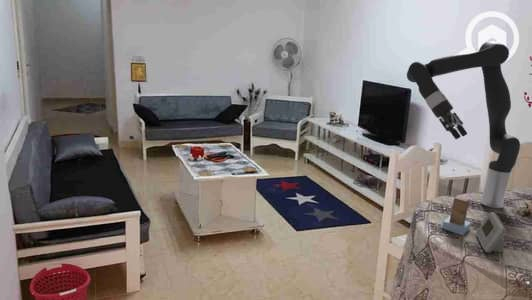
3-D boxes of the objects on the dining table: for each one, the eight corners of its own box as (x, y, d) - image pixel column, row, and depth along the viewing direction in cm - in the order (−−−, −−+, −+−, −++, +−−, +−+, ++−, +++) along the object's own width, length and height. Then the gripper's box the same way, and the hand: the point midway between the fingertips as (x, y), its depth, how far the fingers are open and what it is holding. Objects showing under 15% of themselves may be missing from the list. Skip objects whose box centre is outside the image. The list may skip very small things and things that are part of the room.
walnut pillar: (453, 218, 174) (458, 195, 171) (464, 222, 171) (469, 198, 168) (449, 221, 170) (454, 198, 168) (461, 225, 168) (466, 201, 165)
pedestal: (449, 222, 177) (450, 215, 176) (469, 229, 172) (470, 222, 171) (442, 228, 171) (443, 221, 170) (463, 235, 166) (464, 228, 165)
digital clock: (475, 233, 169) (481, 208, 166) (501, 239, 165) (507, 214, 162) (474, 250, 155) (481, 223, 152) (502, 258, 151) (509, 230, 148)
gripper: (440, 100, 171) (464, 134, 167) (452, 97, 181) (475, 129, 178) (424, 110, 176) (448, 144, 172) (437, 107, 186) (459, 139, 182)
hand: (461, 136), depth 175 cm, fingers open, 8 cm apart
